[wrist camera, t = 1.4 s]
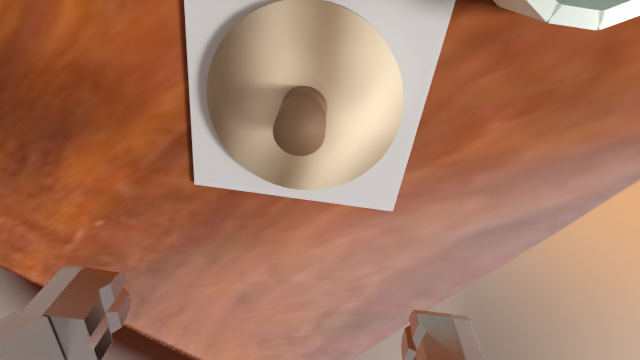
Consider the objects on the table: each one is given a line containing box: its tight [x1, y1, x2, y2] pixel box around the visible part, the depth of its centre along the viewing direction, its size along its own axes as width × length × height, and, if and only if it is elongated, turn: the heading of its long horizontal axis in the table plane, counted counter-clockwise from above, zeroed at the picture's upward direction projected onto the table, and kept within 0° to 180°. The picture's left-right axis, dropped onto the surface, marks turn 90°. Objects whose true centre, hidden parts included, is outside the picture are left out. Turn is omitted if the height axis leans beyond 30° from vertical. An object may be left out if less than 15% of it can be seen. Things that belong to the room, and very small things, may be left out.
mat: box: [184, 0, 456, 211], centre depth 25 cm, size 16×16×1 cm
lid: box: [207, 0, 404, 190], centre depth 23 cm, size 13×13×5 cm
